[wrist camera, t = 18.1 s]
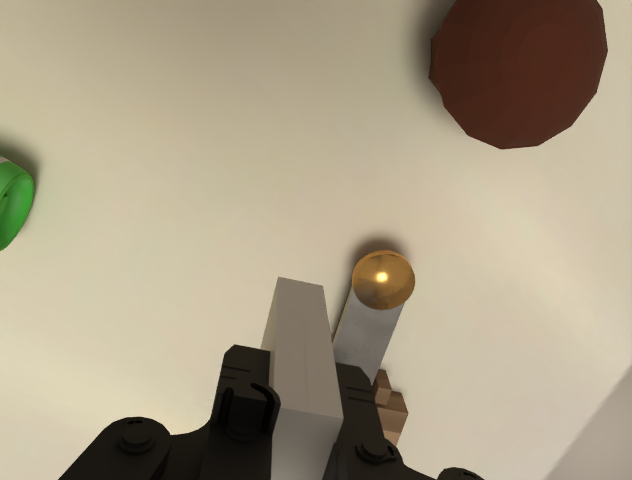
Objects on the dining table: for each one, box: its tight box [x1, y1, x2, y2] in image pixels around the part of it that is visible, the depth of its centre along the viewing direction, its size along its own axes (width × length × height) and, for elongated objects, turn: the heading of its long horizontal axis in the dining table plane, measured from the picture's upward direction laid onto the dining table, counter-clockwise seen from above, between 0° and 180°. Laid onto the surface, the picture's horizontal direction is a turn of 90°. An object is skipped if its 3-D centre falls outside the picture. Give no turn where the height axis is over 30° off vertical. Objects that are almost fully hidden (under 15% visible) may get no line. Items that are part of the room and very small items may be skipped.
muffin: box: [429, 0, 608, 149], centre depth 35 cm, size 12×11×10 cm
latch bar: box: [332, 250, 415, 385], centre depth 44 cm, size 14×5×1 cm, turn 165°
